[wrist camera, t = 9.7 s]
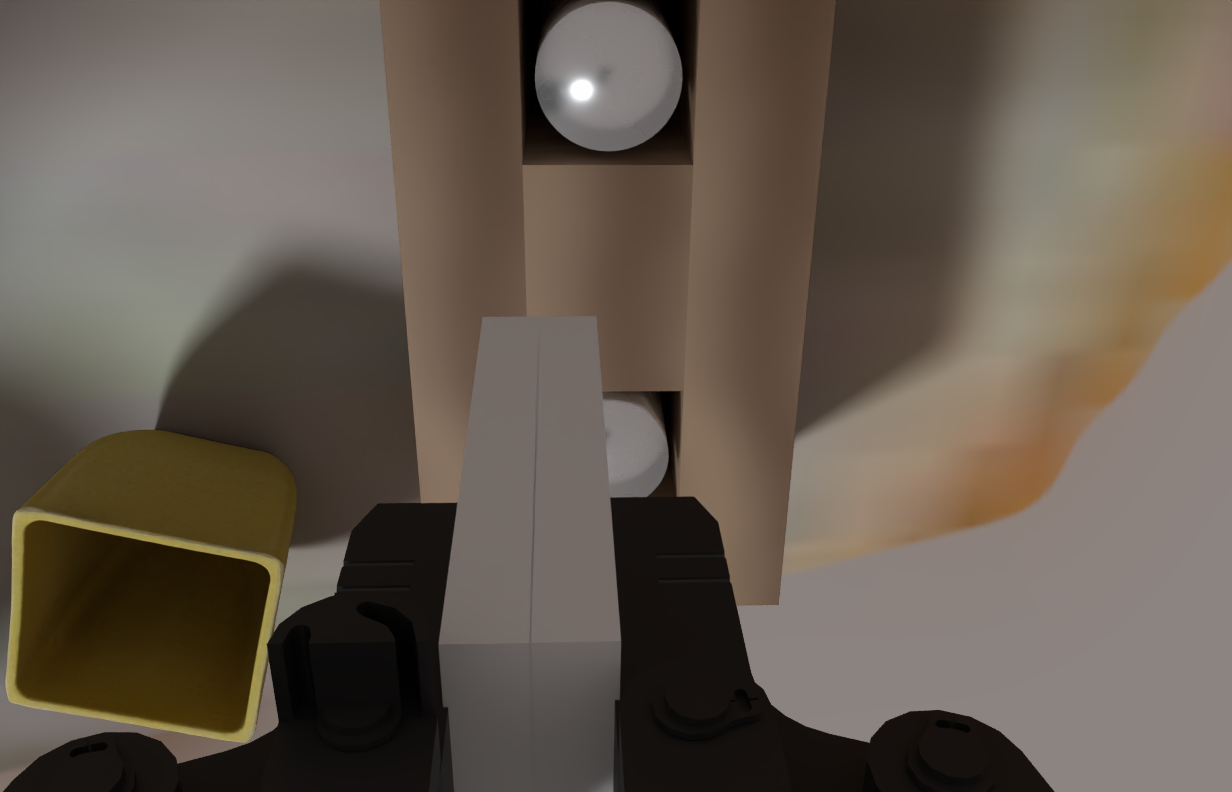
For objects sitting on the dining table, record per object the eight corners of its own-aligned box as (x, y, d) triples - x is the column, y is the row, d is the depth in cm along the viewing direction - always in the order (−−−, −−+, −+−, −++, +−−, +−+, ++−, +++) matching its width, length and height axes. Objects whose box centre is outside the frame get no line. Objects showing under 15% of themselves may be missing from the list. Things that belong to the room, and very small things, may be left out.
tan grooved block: (452, 470, 48) (429, 609, 40) (410, -183, 37) (365, -169, 29) (744, 467, 48) (778, 604, 40) (791, -179, 37) (851, -165, 29)
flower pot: (301, 596, 51) (251, 749, 43) (93, 555, 49) (1, 706, 41) (334, 425, 47) (285, 560, 39) (109, 376, 45) (11, 505, 38)
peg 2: (549, 383, 46) (544, 510, 38) (547, 289, 44) (542, 403, 36) (650, 382, 46) (666, 509, 38) (652, 289, 44) (670, 402, 36)
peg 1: (543, 76, 40) (536, 151, 33) (540, -47, 39) (532, 2, 31) (658, 76, 41) (680, 151, 33) (661, -46, 39) (685, 2, 31)
